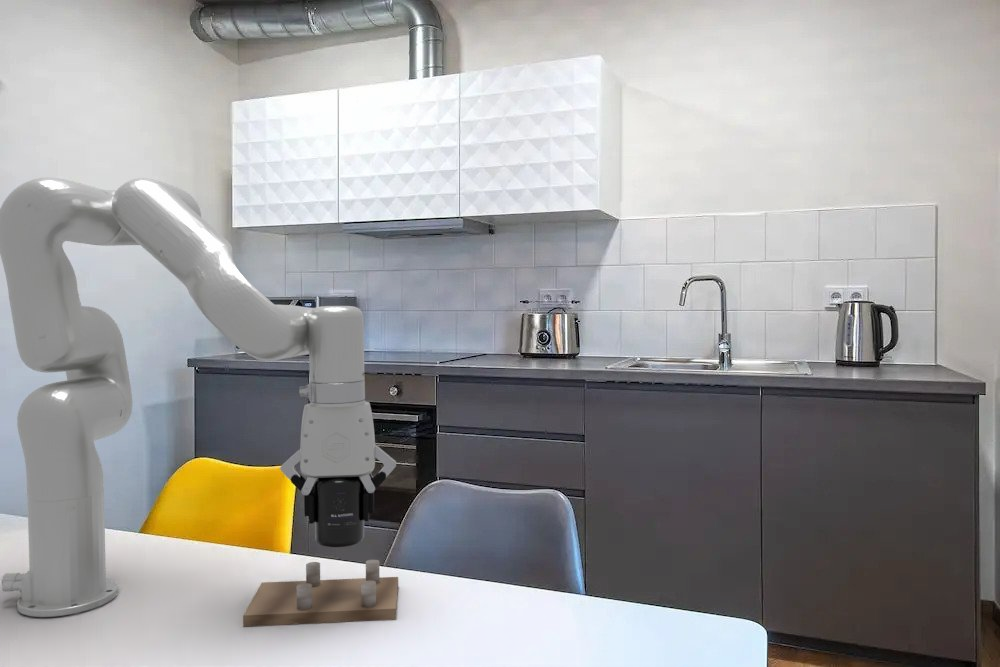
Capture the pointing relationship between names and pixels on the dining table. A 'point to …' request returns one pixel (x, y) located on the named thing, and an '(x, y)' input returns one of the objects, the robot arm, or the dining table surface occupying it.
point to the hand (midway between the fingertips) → (340, 518)
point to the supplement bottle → (339, 511)
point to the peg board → (324, 599)
